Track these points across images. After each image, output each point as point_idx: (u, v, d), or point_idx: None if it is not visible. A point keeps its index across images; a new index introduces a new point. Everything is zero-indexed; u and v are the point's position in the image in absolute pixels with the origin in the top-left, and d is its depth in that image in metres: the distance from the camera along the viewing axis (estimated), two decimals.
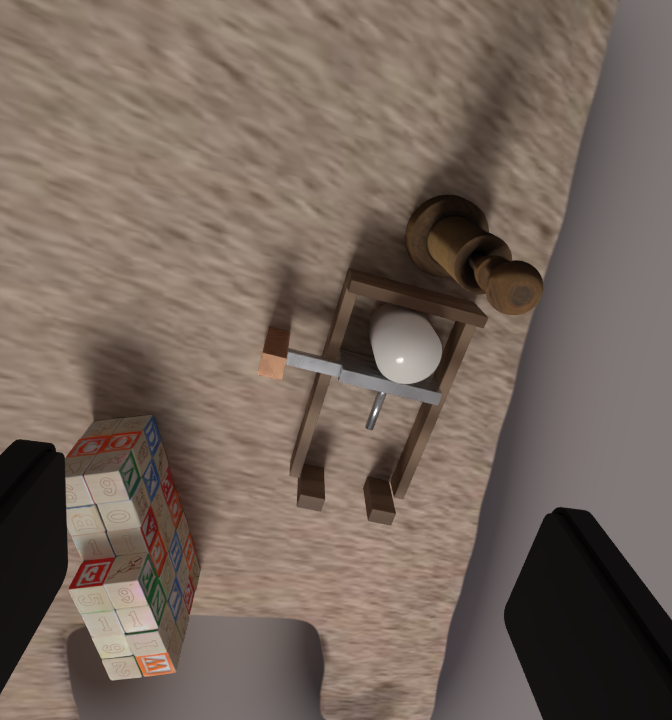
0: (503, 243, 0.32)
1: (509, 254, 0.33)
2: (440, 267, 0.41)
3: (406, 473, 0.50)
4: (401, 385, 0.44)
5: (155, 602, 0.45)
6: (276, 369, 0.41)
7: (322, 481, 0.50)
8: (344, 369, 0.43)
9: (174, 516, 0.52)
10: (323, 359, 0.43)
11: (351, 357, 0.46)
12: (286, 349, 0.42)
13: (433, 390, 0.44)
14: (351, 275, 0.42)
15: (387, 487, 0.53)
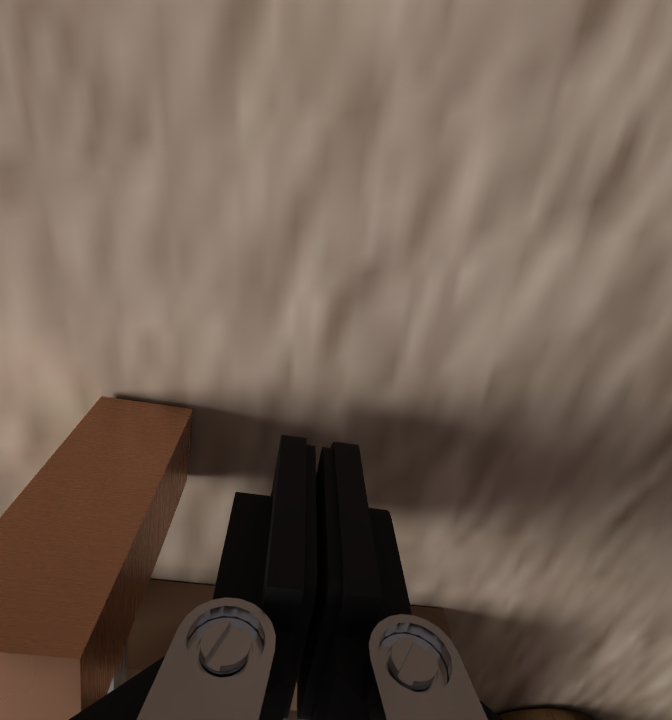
0: None
1: None
2: None
3: None
4: None
5: None
6: None
7: None
8: None
9: None
10: None
11: None
12: (128, 631, 0.08)
13: None
14: None
15: None
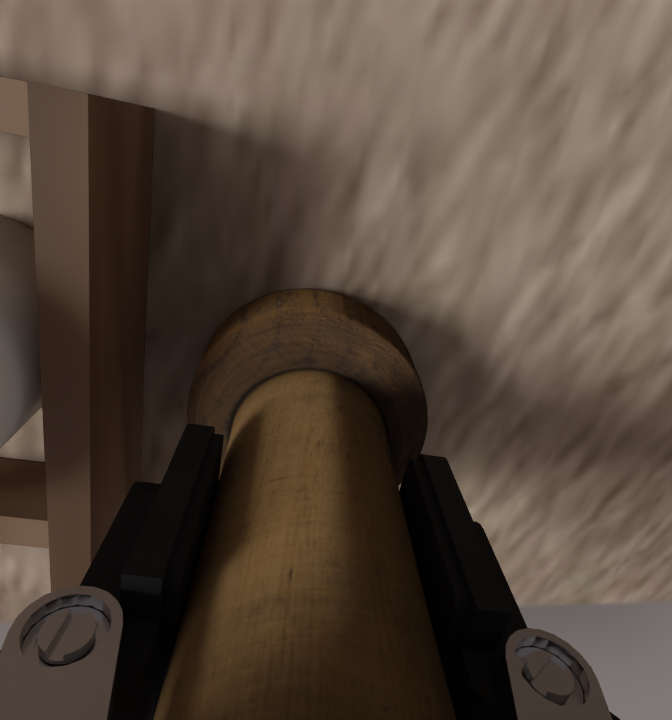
0: None
1: None
2: (219, 425, 0.13)
3: None
4: None
5: None
6: None
7: None
8: None
9: None
10: None
11: None
12: None
13: None
14: (120, 106, 0.10)
15: None
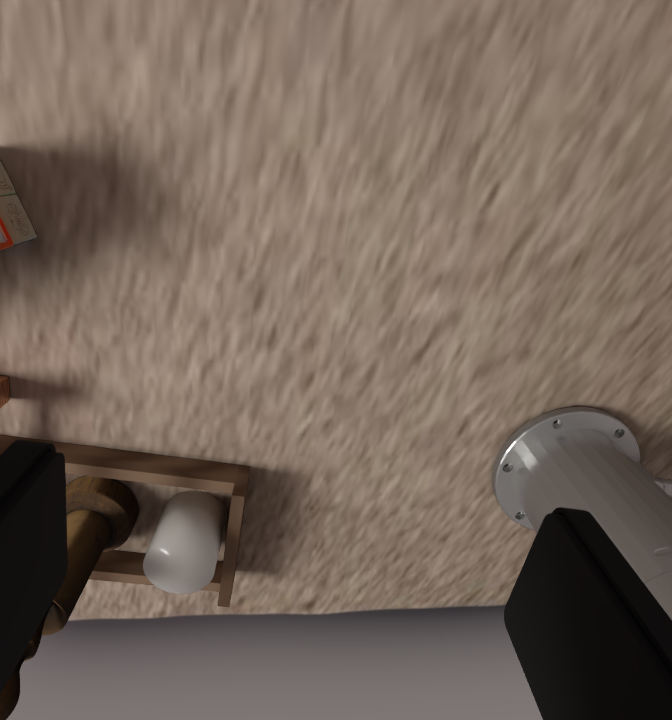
0: (62, 625, 0.34)
1: (54, 631, 0.34)
2: None
3: None
4: None
5: None
6: None
7: None
8: None
9: None
10: None
11: None
12: None
13: None
14: (246, 484, 0.41)
15: None
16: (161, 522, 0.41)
